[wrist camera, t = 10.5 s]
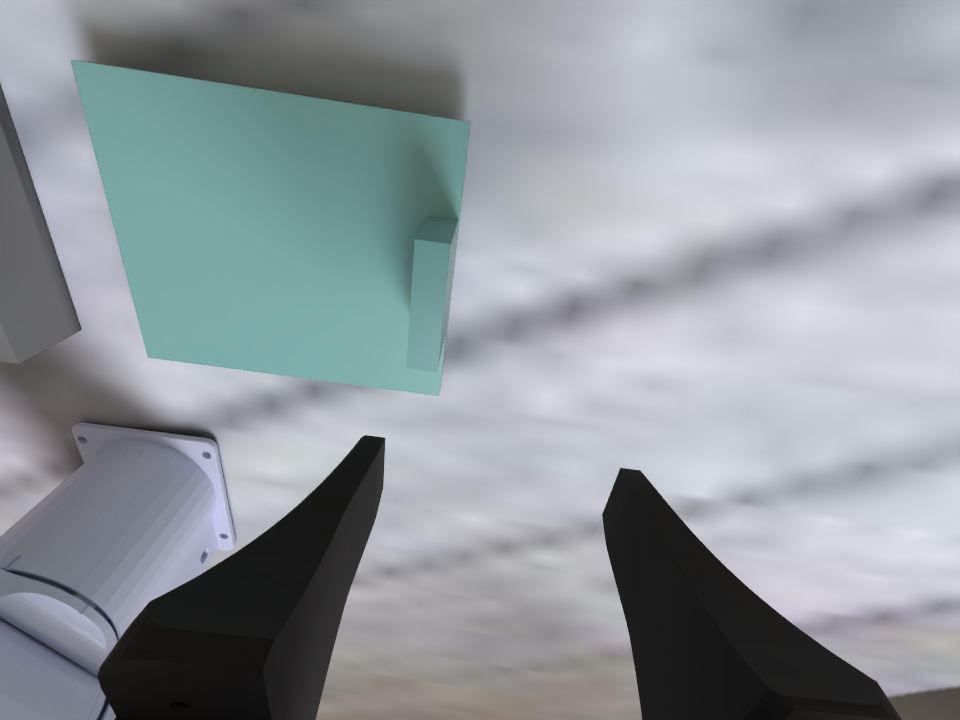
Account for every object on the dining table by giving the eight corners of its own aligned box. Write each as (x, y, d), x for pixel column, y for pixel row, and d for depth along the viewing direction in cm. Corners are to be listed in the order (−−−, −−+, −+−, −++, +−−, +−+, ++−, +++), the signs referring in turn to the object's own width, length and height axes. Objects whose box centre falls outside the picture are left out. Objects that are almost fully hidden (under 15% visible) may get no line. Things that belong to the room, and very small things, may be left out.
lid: (442, 376, 24) (429, 442, 19) (171, 340, 23) (90, 398, 19) (472, 120, 18) (463, 126, 13) (109, 63, 17) (-32, 49, 13)
